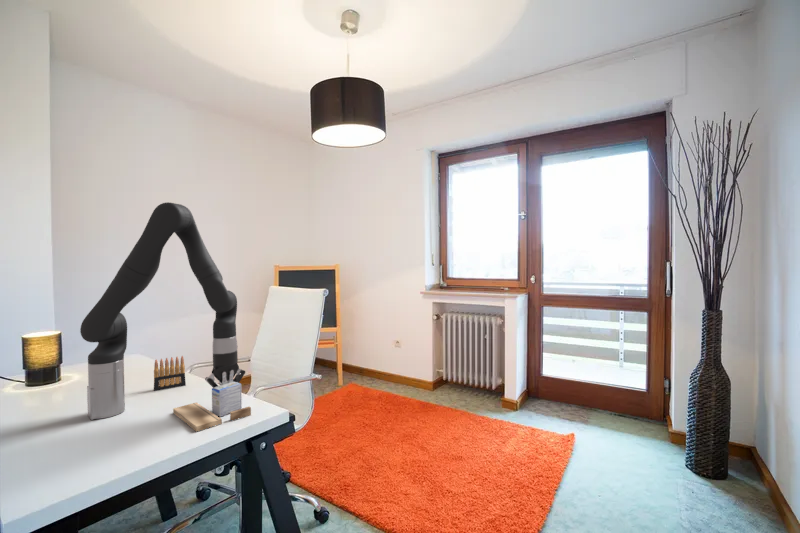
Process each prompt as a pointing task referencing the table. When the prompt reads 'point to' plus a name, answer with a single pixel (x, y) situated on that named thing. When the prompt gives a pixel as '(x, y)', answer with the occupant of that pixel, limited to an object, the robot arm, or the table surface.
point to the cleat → (240, 413)
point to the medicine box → (226, 398)
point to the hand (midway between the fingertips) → (226, 401)
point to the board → (197, 416)
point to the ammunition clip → (172, 379)
